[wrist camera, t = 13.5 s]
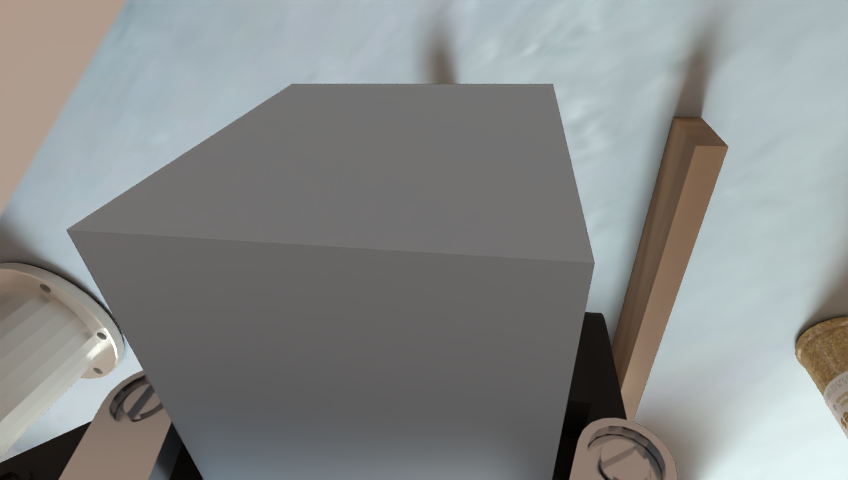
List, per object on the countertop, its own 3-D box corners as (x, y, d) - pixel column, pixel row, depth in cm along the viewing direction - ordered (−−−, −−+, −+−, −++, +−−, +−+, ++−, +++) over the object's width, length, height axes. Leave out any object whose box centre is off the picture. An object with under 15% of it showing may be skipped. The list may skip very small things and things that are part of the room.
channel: (442, 365, 34) (431, 425, 30) (437, 111, 23) (417, 149, 19) (620, 387, 32) (633, 454, 28) (701, 117, 21) (742, 161, 17)
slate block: (336, 312, 12) (231, 529, 8) (291, 83, 9) (66, 229, 5) (526, 328, 12) (531, 582, 7) (553, 84, 8) (594, 262, 4)
